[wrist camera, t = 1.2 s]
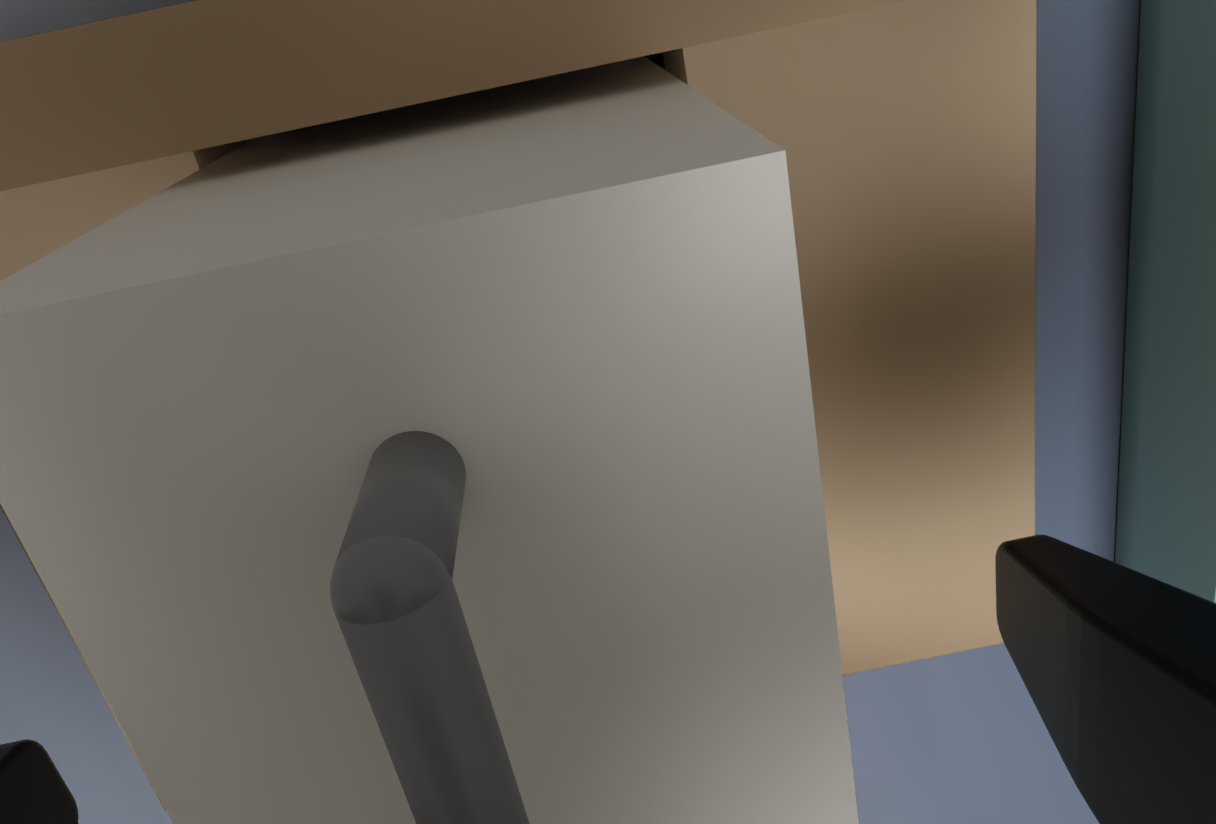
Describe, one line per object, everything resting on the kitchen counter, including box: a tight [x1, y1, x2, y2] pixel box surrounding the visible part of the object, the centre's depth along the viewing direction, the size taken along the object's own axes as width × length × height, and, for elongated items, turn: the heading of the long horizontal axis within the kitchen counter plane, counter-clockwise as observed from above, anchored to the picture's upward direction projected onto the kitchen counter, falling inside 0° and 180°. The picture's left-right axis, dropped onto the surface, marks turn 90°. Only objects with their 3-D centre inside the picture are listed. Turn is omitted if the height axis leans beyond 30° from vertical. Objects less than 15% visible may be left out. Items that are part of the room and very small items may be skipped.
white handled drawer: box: [0, 56, 859, 824], centre depth 10 cm, size 9×5×10 cm, turn 11°
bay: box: [0, 0, 1036, 811], centre depth 12 cm, size 11×14×4 cm
